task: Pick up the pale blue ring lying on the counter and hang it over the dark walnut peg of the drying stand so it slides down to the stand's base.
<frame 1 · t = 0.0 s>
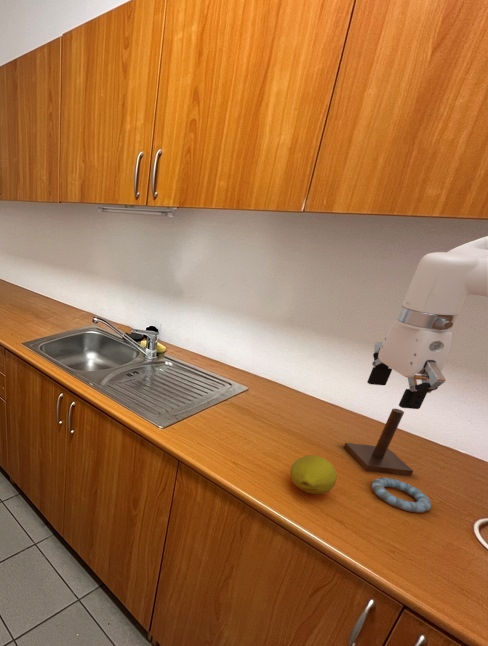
hand: (391, 395, 83), 22 cm above the worktop, tool pointing down, fingers open, 9 cm apart
peg stand: (375, 460, 97), on the worktop
lemon: (306, 489, 89), on the worktop
ring: (400, 494, 86), point 1 cm above the worktop
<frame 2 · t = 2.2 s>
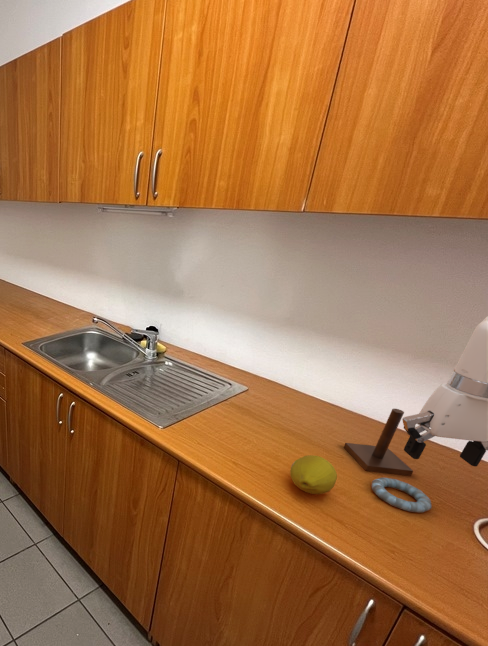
hand: (438, 458, 81), 11 cm above the worktop, tool pointing down, fingers open, 9 cm apart
nothing on the worktop moved.
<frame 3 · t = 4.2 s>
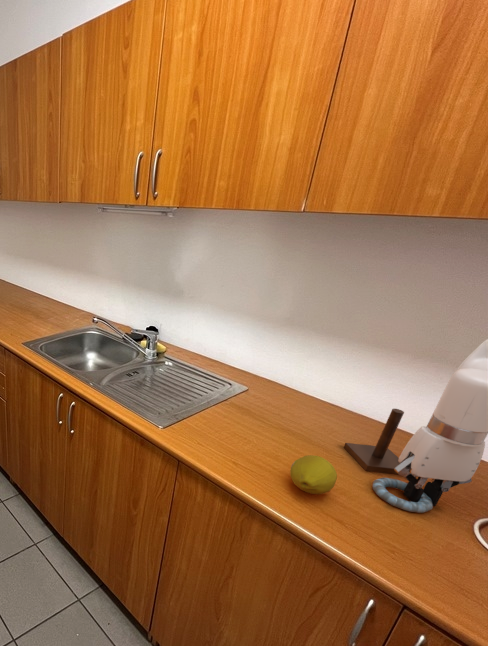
hand: (418, 499, 85), 0 cm above the worktop, tool pointing down, fingers closed on ring, 2 cm apart
ring: (401, 494, 86), point 1 cm above the worktop, touching gripper
everything else where it was.
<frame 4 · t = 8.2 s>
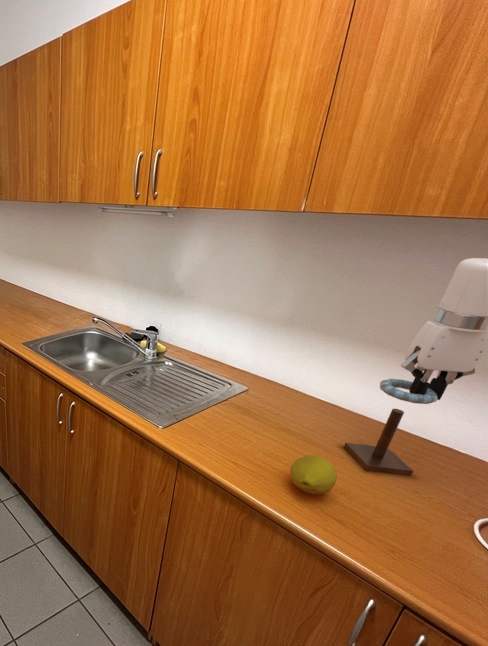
hand: (424, 395, 89), 19 cm above the worktop, tool pointing down, fingers closed on ring, 2 cm apart
ring: (407, 390, 89), point 20 cm above the worktop, touching gripper
everything else where it was.
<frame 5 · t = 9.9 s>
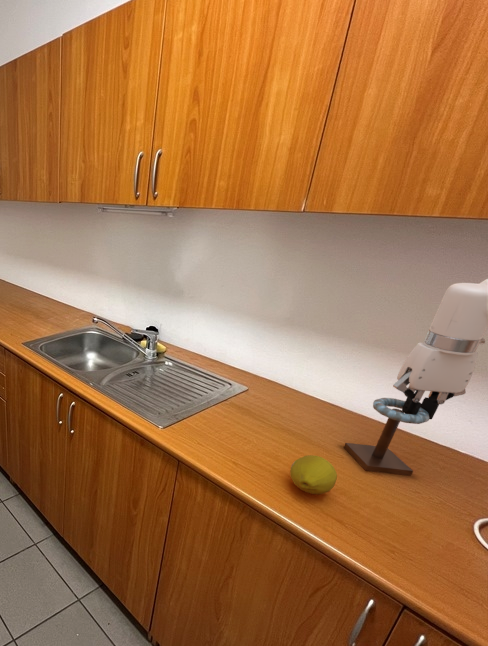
hand: (416, 414, 91), 14 cm above the worktop, tool pointing down, fingers closed on ring, 2 cm apart
ring: (400, 410, 91), point 15 cm above the worktop, touching gripper
everything else where it was.
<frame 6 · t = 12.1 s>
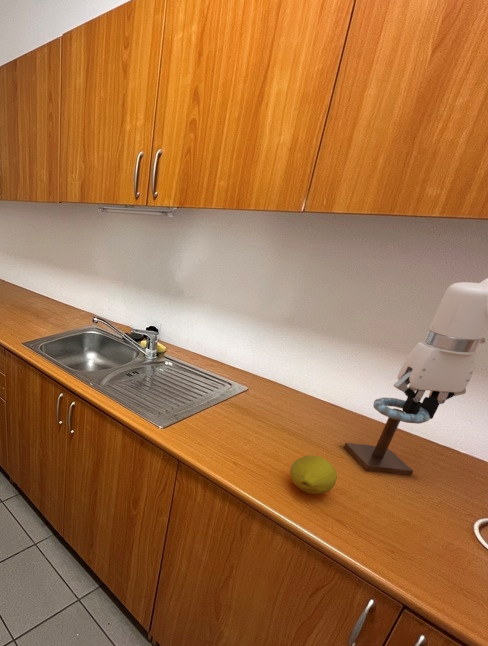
hand: (416, 414, 91), 14 cm above the worktop, tool pointing down, fingers closed on ring
ring: (400, 410, 91), point 15 cm above the worktop, touching gripper
everything else where it was.
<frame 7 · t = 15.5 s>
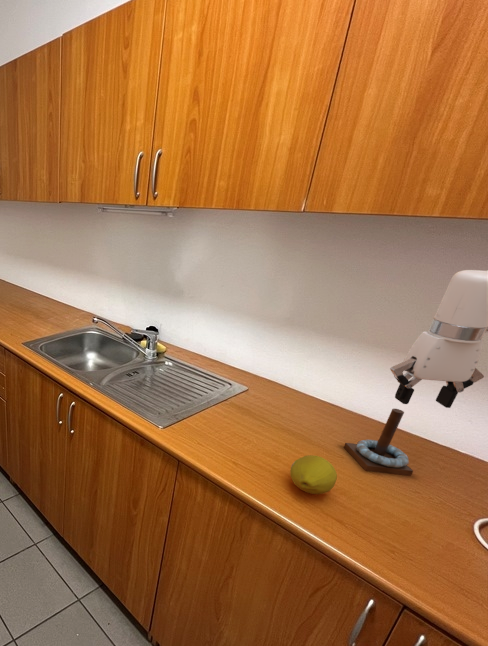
hand: (421, 402, 90), 17 cm above the worktop, tool pointing down, fingers open, 7 cm apart
ring: (381, 453, 96), point 2 cm above the worktop, touching peg stand
everything else where it was.
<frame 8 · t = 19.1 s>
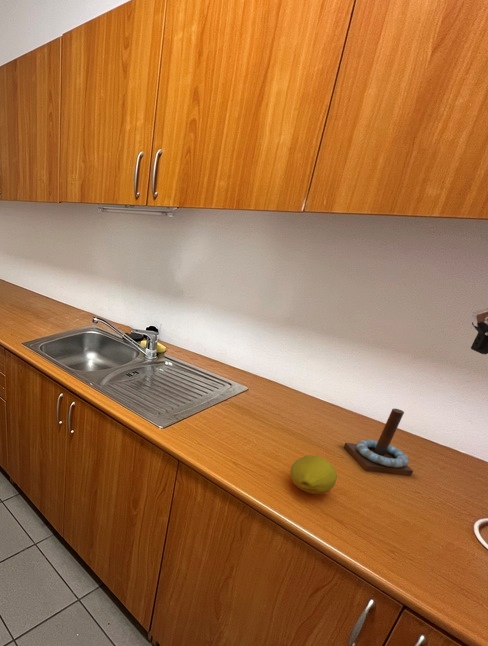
nothing on the worktop moved.
at the end: ring 0.6 cm off-centre on the peg stand, point 2.5 cm above the peg stand's base; the gripper is holding nothing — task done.
